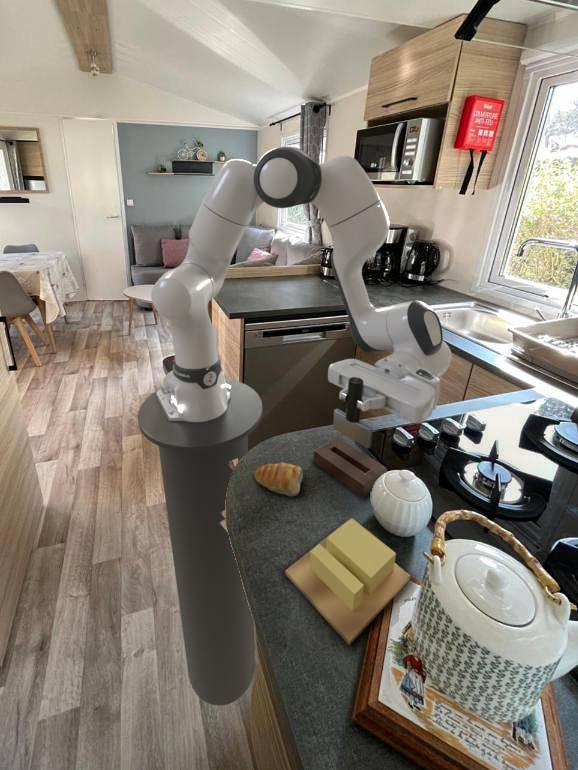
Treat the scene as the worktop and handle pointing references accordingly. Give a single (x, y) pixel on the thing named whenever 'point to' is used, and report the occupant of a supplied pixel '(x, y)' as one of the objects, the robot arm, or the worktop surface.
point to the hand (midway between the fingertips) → (351, 401)
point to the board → (334, 607)
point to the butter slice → (336, 577)
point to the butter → (361, 554)
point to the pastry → (280, 478)
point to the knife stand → (349, 466)
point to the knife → (353, 416)
